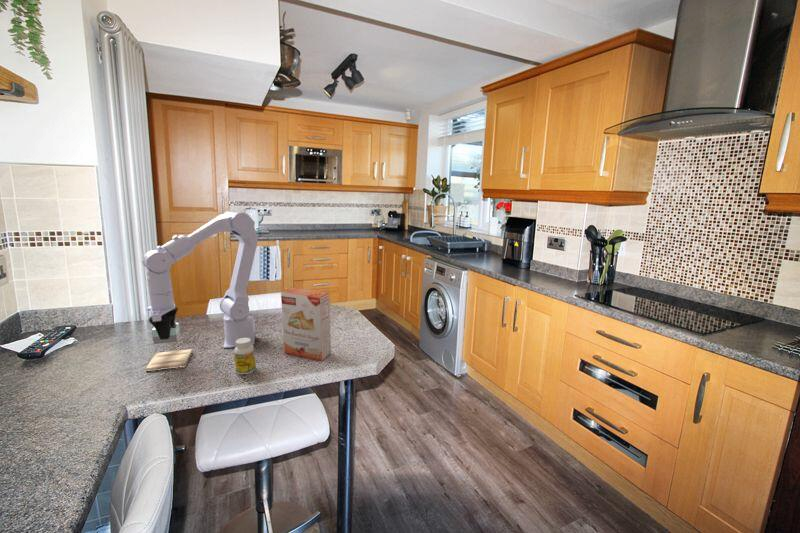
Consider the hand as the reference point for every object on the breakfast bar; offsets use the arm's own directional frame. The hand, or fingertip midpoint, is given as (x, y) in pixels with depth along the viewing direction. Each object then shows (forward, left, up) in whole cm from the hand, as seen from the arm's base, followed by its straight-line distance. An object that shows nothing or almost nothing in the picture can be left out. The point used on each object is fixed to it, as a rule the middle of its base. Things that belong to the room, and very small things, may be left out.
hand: (166, 335), depth 113 cm
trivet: (0, 0, -8) cm, 8 cm away
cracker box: (-40, +6, -9) cm, 41 cm away
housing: (0, 0, -1) cm, 1 cm away
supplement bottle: (-22, +12, -9) cm, 27 cm away
